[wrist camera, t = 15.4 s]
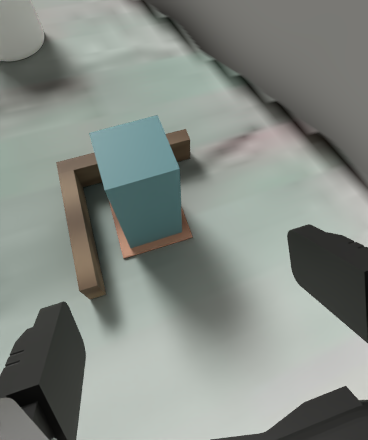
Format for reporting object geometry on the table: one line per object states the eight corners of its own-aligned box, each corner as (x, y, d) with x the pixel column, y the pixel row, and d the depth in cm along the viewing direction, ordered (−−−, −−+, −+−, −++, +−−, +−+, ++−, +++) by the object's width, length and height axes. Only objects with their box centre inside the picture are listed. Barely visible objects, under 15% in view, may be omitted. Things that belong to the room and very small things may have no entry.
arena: (230, 254, 29) (234, 242, 26) (90, 299, 27) (79, 290, 24) (185, 148, 34) (185, 129, 31) (67, 180, 32) (56, 162, 30)
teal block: (130, 248, 29) (104, 190, 20) (117, 203, 31) (89, 133, 22) (182, 232, 29) (179, 168, 21) (166, 189, 32) (157, 115, 23)
